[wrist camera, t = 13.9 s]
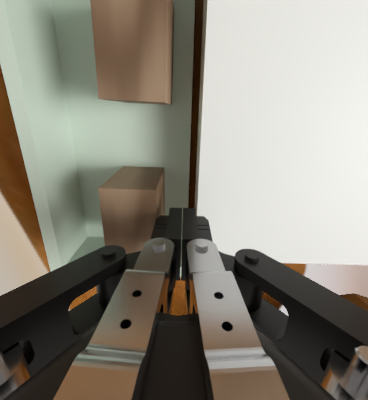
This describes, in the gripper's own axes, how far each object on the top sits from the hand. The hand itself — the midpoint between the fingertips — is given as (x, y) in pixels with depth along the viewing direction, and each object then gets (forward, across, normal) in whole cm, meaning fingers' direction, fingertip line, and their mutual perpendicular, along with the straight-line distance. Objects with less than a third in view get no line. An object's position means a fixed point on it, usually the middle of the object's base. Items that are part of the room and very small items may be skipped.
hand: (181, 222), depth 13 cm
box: (+4, +4, -4) cm, 8 cm away
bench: (+4, -7, -4) cm, 9 cm away
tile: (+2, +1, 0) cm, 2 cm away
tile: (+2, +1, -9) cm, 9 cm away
